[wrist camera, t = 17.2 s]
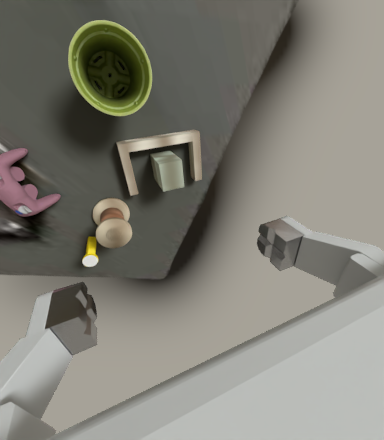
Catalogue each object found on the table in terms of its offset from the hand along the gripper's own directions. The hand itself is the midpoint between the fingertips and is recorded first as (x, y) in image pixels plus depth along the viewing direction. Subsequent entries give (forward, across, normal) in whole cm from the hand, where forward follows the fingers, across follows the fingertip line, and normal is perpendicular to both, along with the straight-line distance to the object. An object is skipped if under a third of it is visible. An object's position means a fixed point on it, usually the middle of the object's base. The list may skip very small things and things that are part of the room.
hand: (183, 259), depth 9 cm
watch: (+34, +11, +21) cm, 42 cm away
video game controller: (+34, +16, +5) cm, 38 cm away
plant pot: (+34, -1, -8) cm, 35 cm away
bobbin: (+34, +5, +15) cm, 38 cm away
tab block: (+34, -7, +7) cm, 36 cm away
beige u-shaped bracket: (+34, -7, +7) cm, 35 cm away
